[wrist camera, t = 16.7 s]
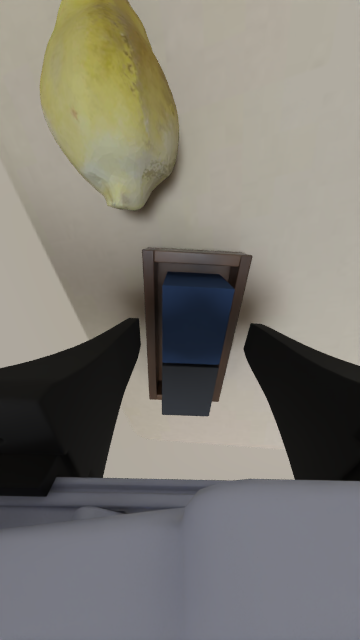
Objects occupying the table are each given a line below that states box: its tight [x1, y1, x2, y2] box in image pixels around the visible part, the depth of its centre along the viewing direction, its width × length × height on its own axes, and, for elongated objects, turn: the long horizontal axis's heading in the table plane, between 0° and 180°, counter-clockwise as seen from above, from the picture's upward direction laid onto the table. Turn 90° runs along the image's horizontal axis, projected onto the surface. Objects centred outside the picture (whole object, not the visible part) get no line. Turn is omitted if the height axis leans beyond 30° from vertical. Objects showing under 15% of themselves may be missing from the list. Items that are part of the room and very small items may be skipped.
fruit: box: [40, 0, 179, 211], centre depth 8 cm, size 6×6×10 cm
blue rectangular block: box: [162, 272, 235, 365], centre depth 13 cm, size 4×6×4 cm
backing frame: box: [142, 248, 252, 402], centre depth 16 cm, size 8×15×2 cm, turn 177°
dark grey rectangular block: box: [162, 362, 219, 416], centre depth 16 cm, size 4×6×4 cm
